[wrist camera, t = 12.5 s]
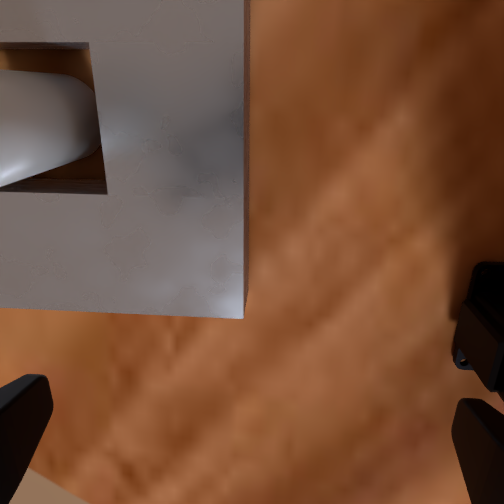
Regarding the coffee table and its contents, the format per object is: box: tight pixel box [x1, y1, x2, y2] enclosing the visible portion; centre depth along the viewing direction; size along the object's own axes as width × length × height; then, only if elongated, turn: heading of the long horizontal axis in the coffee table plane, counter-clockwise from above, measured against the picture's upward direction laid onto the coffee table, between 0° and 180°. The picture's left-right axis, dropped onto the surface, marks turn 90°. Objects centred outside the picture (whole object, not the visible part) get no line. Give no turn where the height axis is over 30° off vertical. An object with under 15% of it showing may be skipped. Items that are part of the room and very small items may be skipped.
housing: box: [0, 0, 250, 319], centre depth 18 cm, size 18×18×3 cm
